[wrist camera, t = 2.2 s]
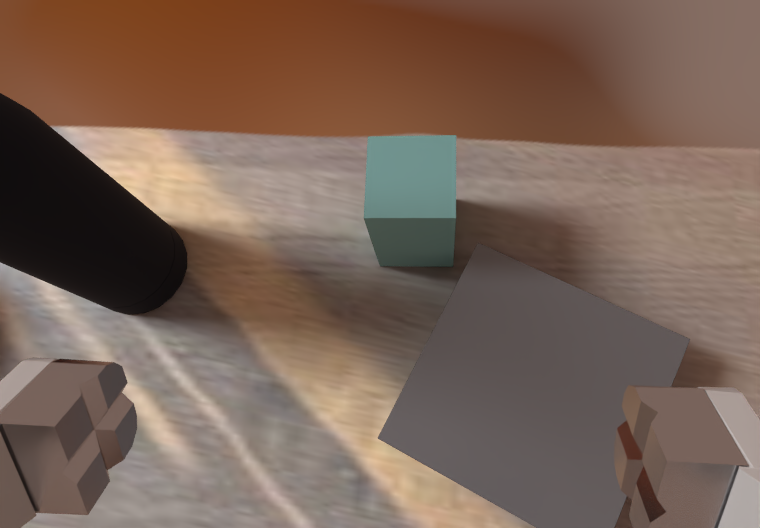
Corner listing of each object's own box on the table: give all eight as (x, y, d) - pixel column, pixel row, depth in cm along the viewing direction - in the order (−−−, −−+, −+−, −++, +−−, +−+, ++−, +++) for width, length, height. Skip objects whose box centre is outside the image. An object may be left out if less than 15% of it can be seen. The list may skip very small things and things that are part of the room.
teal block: (452, 266, 36) (455, 217, 29) (380, 266, 37) (363, 218, 29) (453, 199, 37) (456, 135, 30) (382, 199, 38) (367, 136, 30)
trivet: (585, 552, 31) (600, 563, 28) (383, 439, 33) (377, 438, 31) (669, 348, 33) (690, 339, 31) (475, 259, 36) (478, 242, 33)
